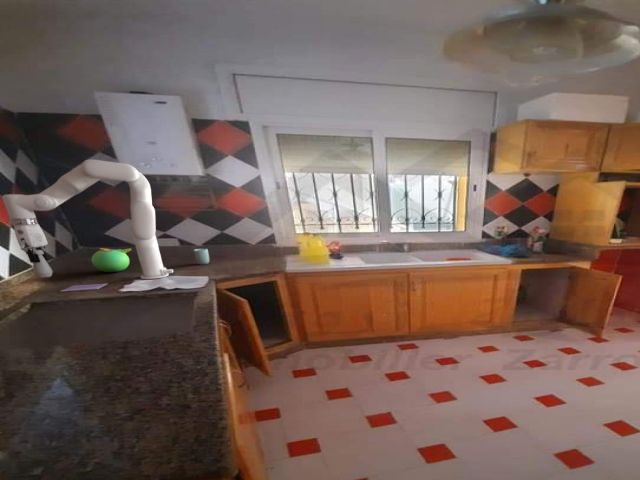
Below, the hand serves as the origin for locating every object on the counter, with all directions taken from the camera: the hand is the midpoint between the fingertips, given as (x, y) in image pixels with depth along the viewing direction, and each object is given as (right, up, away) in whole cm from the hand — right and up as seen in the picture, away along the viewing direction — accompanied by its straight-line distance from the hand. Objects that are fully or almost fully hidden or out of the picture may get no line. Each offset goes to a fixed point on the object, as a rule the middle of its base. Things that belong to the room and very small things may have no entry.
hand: (39, 261), depth 151 cm
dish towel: (+12, -13, +9) cm, 20 cm away
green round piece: (-4, -2, +41) cm, 42 cm away
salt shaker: (0, -7, +2) cm, 8 cm away
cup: (+34, +5, +63) cm, 72 cm away
